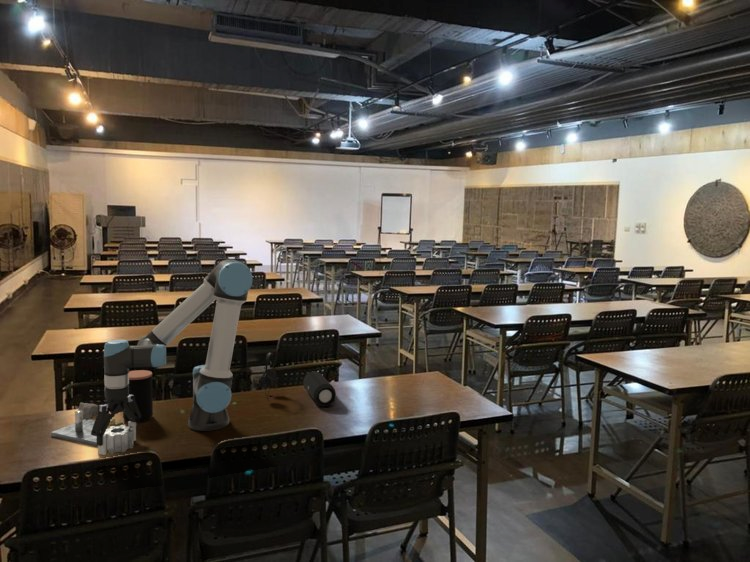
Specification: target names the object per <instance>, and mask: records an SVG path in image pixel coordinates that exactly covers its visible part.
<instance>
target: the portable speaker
mask: <svg viewBox="0 0 750 562" xmlns="http://www.w3.org/2000/svg"><path fill="white" fill-rule="evenodd" d="M302 385H303V388H304V389H305V391H306V392H308V394H309V396H310V397H311V398H312V399H313V401H314V402H315V404H316V405H317V406H320V407H329V406H330V405H332V404H333V403H334V401H335V400H336V395H337V392H336V389H335V387H334V386H333V385H332V384H331V383H330V382H329V380H327V379H326V378H325V376H324V375H322V373H320V372H318V371H316V370H315V371H310V372H308V373H307V374H305V376H304V377H303V380H302Z"/></svg>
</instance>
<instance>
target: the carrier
mask: <svg viewBox="0 0 750 562" xmlns="http://www.w3.org/2000/svg"><path fill="white" fill-rule="evenodd" d="M94 422H95V419H84V420H83V416H82V410H78V409H77V410H75V411H74V423H71V424H69V425H67V426H64V427H61V428H58V429H56V430H53V431H51V432H50V436H51V437H52V438H57V439H61V440H65V441H66V440H67V441H70V442H74V443H75V442H76V443H79V444H82V445H83V444H84V445H89V446H93V447H97V448H98V445H97V437H96V436H92V435H91V431H92V428H93V425H94ZM121 425H125V424H124V422H123V421H117V420H116V419H115V418H112V419H111V421H110V423H109V425H108V427H107V429H109V428H110V427H111V426H115V427H117V426H121ZM100 432H101V431H100Z"/></svg>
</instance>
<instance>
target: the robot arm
mask: <svg viewBox="0 0 750 562" xmlns="http://www.w3.org/2000/svg"><path fill="white" fill-rule="evenodd" d="M252 284H253V273H252V271H251V269H250V268H249V267H248V265H246V264H245V263H243V262H241V261H239V260H237V259H233V258H228V259H224V260H222V261H220V262H219V263H218V264H217V265H216V266H215V267H214V268H213V269H212V270H211V272H209V273H208V274H207V275H206V276H205V277H204V278H203V283H202V284H201V285H200V286H199V287H197V288H196V289H195V290H194V291H193V292H192V293H191V294H190V295H189V296H187V298H185V300H183V301H182V302H181V303H180V304H179V305H178V306H177V307H175V308H174V309H173V310H172V311H171V312H170V313H169V314H168V315H166V317H164V319H163V320H161V322H159V323H158V324H157V325H156V326H155V327H154V328H153V329H152V330H151V331H150V332H148V333H147V334H146V335H144V336H142V337H141V338H140V339H139V340H138V342H137V344H136V345H130V344H129V341H128V340H126V339H111V340H108V341H106V342H105V343H104V346H103V348H104V349H103V369H104V371H103V372H104V373H103V374H104V379H103V381H104V398H105V400H106V402H105V404H99V405H97V406H98V413H97V414H96V415H95V416H96V417H95V419H94V420H95V422H94V425H93V428H92V431H91V435H92V436H96V437H97V445H98V447H97V453H98V454H99V455H102V456H106V455H107V451H106V435H104V433H105V431H106V429H107V427H108V425H109V423H110V421H111V419H114V418H115V416H116V415H118V414H119V413H122V414H123V413H124V414H125V415H126V416H127V417H128V418H129V420H130V421H129V422H127V427H130V426H132V427H133V442H136V440H137V428H138V423H137V422H139V418H141V417H142V416H141V413H140V411H139V409H138V406H137V404H136V401H135V395H130V394H129V386H128V384H129V371H130V369H137V368H139V369H140V368H157V367H164V366H166V364H167V346H168V344H169V343H171V341H173V339H175V338H176V337H177V336H179V334H180V333H181V332H182V331H183V330H184V329H186V327H188V326H189V325H190V324H191V323H192V322H193V321H195V319H197V318H198V317H199V316H200V315H201V314H202V313H203V312H204V311H205V310H207V308H208V307H209V306H210V305H212V304H213V302H215V301H216V304H215V309H214V315H213V321H212V327H211V332H210V337H209V342H208V343H209V344H208V348H207V349H208V350H207V354H206V358H205V359H206V360H205V364H201V365H197V366H194V367H193V369H192V378H193V379H192V407H191V411H190V413H189V417H188V420H187V421H188V422H187V425H188V427H189V429H191V430H194V431H198V432H208V431H209V432H210V431H216V430H220V429H224V428H226V427H227V426H229V424H230V415H229V414H228V410H227V407H228V406H229V405H230V403H231V400H232V397H233V396H232V390H231V388H232V382H233V375H234V374H233V373H232V371H231V364H232V358H233V352H234V347H235V343H236V336H237V331H238V324H239V320H240V314H241V309H242V305H243V304H244V303H246V302H247V299H248V294H249V291H250V289H251V288H252ZM127 402H128V404H129V407H130V408H129V407H128V405H127ZM130 409H131V410H130ZM139 423H140V422H139ZM100 431H101V432H100Z"/></svg>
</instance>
